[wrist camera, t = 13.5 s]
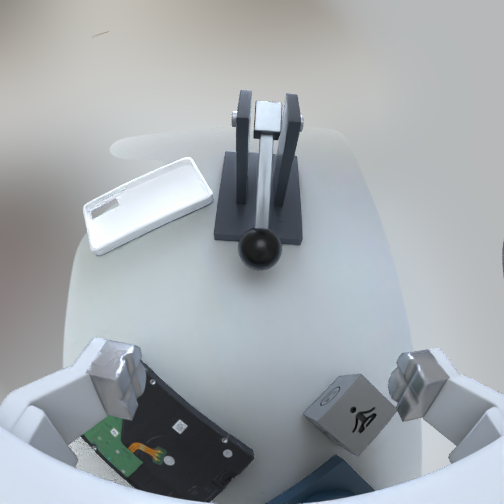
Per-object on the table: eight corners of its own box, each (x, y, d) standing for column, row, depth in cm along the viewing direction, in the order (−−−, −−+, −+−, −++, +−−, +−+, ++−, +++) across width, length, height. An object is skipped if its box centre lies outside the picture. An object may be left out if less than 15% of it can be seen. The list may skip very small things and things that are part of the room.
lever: (277, 267, 25) (282, 275, 21) (237, 265, 25) (236, 272, 21) (286, 115, 23) (291, 100, 20) (247, 112, 23) (247, 96, 20)
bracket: (300, 244, 29) (334, 159, 18) (214, 239, 29) (201, 149, 17) (295, 163, 34) (314, 78, 23) (225, 158, 34) (222, 71, 23)
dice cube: (337, 444, 20) (357, 456, 16) (302, 413, 22) (316, 421, 17) (372, 406, 22) (398, 409, 17) (339, 375, 23) (361, 373, 19)
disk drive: (255, 447, 20) (131, 348, 23) (257, 455, 18) (119, 344, 21) (189, 512, 16) (76, 416, 20) (185, 525, 14) (61, 417, 17)
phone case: (96, 258, 27) (215, 202, 31) (91, 253, 26) (214, 195, 30) (86, 211, 30) (191, 162, 34) (82, 205, 29) (190, 155, 32)
